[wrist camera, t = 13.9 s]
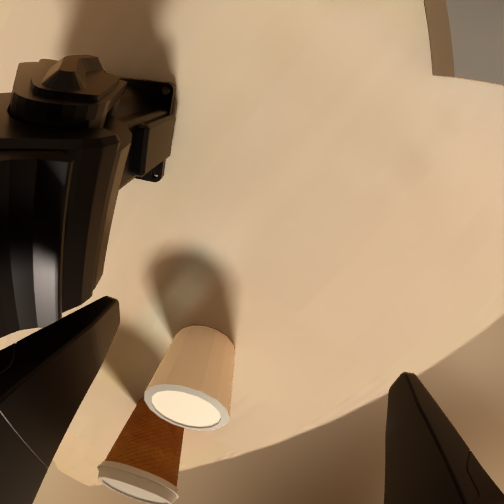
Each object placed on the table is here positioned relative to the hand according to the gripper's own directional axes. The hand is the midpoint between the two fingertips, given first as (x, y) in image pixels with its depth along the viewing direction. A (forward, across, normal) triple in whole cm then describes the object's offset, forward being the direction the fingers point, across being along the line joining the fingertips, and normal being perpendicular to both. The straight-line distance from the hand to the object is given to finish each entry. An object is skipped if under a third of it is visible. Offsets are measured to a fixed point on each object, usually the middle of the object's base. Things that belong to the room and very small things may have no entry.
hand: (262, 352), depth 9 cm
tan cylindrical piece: (+13, +3, +16) cm, 21 cm away
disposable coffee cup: (+13, +7, +31) cm, 34 cm away
